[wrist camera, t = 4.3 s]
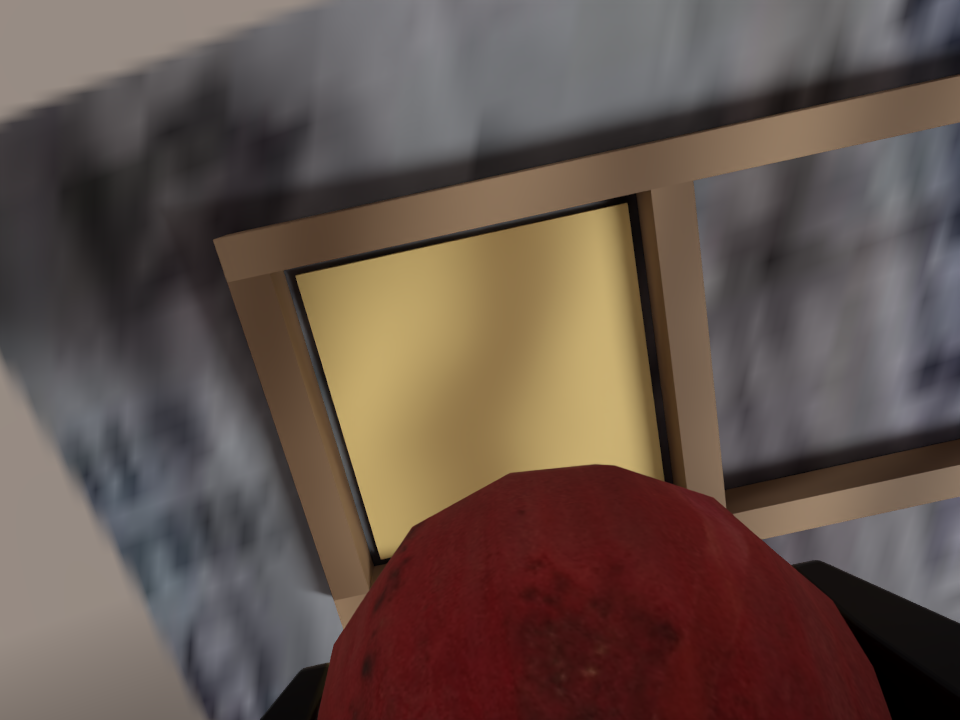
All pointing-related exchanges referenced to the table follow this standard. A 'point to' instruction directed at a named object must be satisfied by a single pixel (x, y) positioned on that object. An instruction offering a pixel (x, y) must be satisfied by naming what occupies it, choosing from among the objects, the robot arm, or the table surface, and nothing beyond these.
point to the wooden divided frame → (536, 338)
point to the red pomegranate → (594, 614)
